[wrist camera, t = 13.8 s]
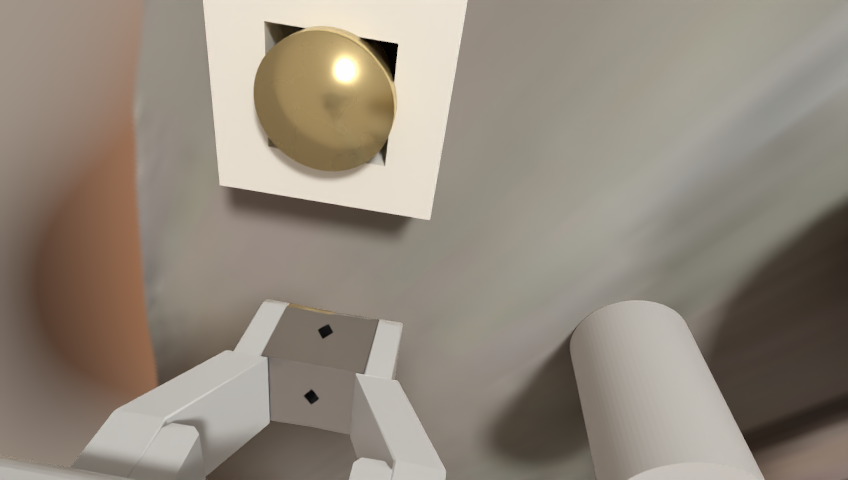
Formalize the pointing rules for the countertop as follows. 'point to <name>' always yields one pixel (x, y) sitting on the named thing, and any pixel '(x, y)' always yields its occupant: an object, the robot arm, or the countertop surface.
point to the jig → (414, 80)
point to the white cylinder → (653, 399)
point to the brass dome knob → (326, 97)
